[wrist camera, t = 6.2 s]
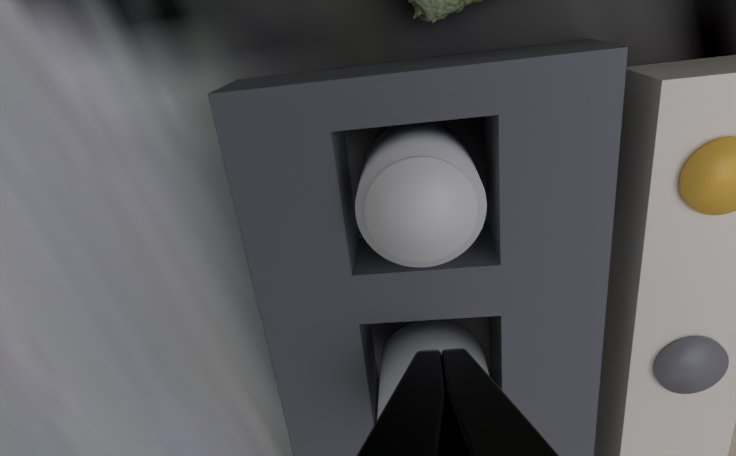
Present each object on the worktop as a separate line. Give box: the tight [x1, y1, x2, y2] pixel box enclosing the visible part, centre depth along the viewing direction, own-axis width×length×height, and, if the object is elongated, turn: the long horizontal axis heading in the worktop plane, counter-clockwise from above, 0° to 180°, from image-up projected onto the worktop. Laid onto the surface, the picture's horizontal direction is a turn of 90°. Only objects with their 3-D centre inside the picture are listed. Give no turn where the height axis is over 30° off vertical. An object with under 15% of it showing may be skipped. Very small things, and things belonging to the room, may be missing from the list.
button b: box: [377, 319, 489, 419], centre depth 18 cm, size 4×4×4 cm
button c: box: [355, 122, 487, 267], centre depth 17 cm, size 4×4×4 cm
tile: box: [594, 55, 736, 456], centre depth 19 cm, size 4×20×3 cm, turn 7°
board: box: [208, 39, 628, 456], centre depth 20 cm, size 12×22×3 cm, turn 7°
